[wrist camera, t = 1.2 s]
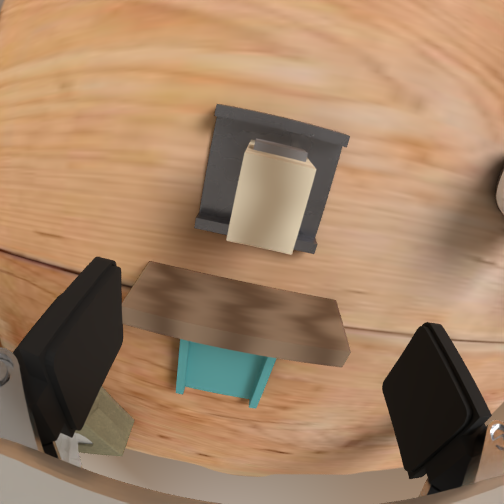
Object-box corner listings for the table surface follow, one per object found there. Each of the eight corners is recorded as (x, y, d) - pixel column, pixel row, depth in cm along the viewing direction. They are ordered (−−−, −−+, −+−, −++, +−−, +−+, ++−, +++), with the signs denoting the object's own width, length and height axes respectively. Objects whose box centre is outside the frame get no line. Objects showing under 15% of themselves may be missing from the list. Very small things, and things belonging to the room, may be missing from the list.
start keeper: (344, 134, 25) (349, 136, 24) (311, 245, 30) (314, 254, 28) (219, 104, 25) (216, 104, 23) (198, 220, 29) (194, 228, 28)
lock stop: (304, 144, 26) (319, 160, 18) (285, 215, 29) (291, 254, 21) (252, 132, 25) (246, 143, 18) (237, 204, 28) (226, 240, 21)
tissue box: (71, 420, 50) (45, 479, 36) (40, 389, 46) (7, 449, 32) (136, 419, 46) (112, 495, 32) (102, 384, 42) (66, 464, 28)
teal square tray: (184, 325, 35) (180, 335, 34) (277, 344, 36) (277, 354, 34) (178, 383, 40) (175, 392, 38) (256, 398, 41) (256, 408, 39)
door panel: (336, 300, 33) (350, 351, 26) (329, 314, 34) (342, 367, 26) (149, 261, 32) (120, 305, 24) (148, 277, 33) (121, 323, 25)
